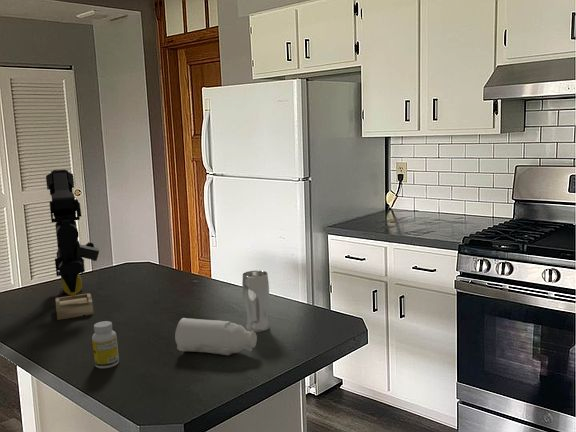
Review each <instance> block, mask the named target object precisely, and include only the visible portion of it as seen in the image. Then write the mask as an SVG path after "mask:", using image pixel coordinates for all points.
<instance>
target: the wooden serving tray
mask: <svg viewBox="0 0 576 432" xmlns="http://www.w3.org/2000/svg"><path fill="white" fill-rule="evenodd" d="M93 304H94V303H93V299H92V295H91V292H90V293H83V294H76V295H75V296H71V295H68V296H61V297H55V309H56V319H57V320H65V319H71V318H77V317H84V316H83V315H85V316H89V315H94V314H95V313H94V305H93Z"/></svg>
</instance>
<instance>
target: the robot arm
mask: <svg viewBox="0 0 576 432" xmlns="http://www.w3.org/2000/svg"><path fill="white" fill-rule="evenodd" d="M45 180H46V183H45V184H46V189H47V190H48V191H49V195H50V197H51V201H49V210H50V212H49V213H50V219H51V223H55V232H56V233H55V234H56V243H57V250H56V257H55V258H54V266H55V272H56V277H60V280H61V283H62V281H63V279H64V281H65V283H66V284H67V286H68V288H69V290H70V291H71V293H73V292H75V288H76V280H77V275H78V274H79V275H80V274H83V273H85V272H86V271H85V259H87V260H91V261H94V262H97V260H98V257H99V253H100V249H99V248H98V247H95V244H94V243H93V242H90V241H88V242H87V243H86V244H80V241H79V231H78V228H77V227H78V226H77V222H76V221H80V219H81V218H80V217H82V209H81V203H80V202H79V200H78V199H77V198H76V197H75V194H74V191H73V189H74V188H75V179H74V173H71V172H69V171H68V170H67V169H65V168H64V169H53V170H51V171H50V173H48V174H47V175H45ZM75 198H76V199H75ZM60 292H61V295H66V294H67V293H66V292H65V291H64V289H63V286H62V285H61V288H60ZM81 292H83V288H81V290H80V292H79V293H81ZM67 295H68V294H67Z"/></svg>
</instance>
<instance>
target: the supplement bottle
mask: <svg viewBox="0 0 576 432" xmlns="http://www.w3.org/2000/svg"><path fill="white" fill-rule="evenodd" d="M93 331H94V332H93V335H92V336H91V343H92V351H93V358H94V360H93V361H94V366H95V367H96V368H98V369H109V368H113V367H115V366H117V365H118V364H119V362H120V356H119V355H120V354H119V348H118V346H119V345H118V337H117V333H116V331H114V330H113V322H112V321H108V320H105V321H98V322H96V323H95V324H94V325H93Z"/></svg>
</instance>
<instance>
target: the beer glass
mask: <svg viewBox="0 0 576 432" xmlns="http://www.w3.org/2000/svg"><path fill="white" fill-rule="evenodd" d="M241 285H242V296H243V301H244V305H245V310H246V317H247V318H246V328H245V329H246V330H247V331H249V332H251V331H252V330H253V331H254V332H255V333H263V332H266V331H267V330H269V329H270V324H269V320H268V309H269V308H268V306H269V301H270V300H269V298H270V284H269V277H268V272H267V271H264V270H249V271H246V272H243V273H242V284H241Z"/></svg>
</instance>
